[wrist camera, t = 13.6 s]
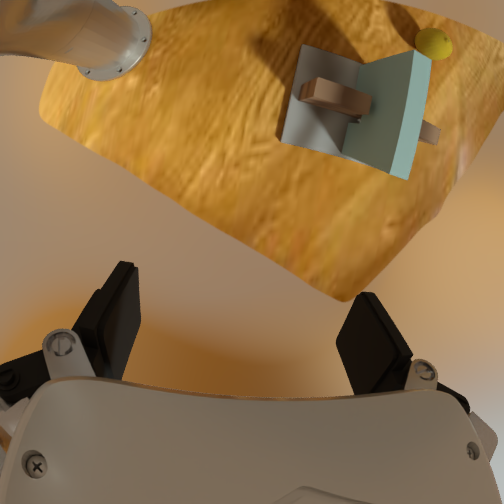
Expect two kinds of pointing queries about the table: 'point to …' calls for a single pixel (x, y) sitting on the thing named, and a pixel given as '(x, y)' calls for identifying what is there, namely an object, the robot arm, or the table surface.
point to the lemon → (433, 43)
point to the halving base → (314, 117)
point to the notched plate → (390, 112)
